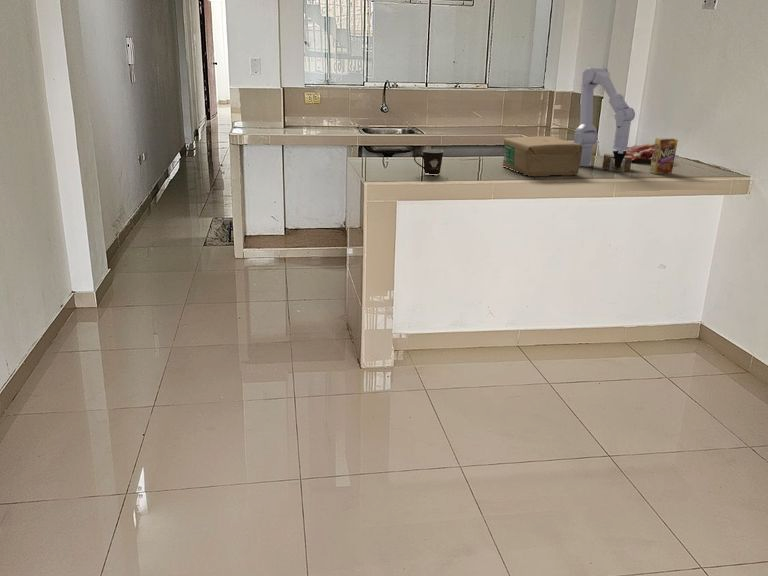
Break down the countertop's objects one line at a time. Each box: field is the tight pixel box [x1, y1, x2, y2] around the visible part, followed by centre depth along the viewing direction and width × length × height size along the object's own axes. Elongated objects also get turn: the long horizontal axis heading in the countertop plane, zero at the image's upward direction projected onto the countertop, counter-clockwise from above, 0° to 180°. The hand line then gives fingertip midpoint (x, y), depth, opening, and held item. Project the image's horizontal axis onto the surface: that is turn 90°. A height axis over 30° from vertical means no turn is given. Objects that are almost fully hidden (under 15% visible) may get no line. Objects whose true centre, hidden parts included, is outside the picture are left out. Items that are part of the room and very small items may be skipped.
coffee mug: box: [413, 149, 444, 174], centre depth 285 cm, size 12×9×10 cm
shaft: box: [612, 160, 623, 172], centre depth 304 cm, size 5×10×5 cm, turn 164°
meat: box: [624, 142, 655, 161], centre depth 329 cm, size 21×21×10 cm
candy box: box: [649, 137, 679, 175], centre depth 298 cm, size 9×4×15 cm, turn 103°
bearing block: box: [601, 153, 633, 172], centre depth 307 cm, size 12×6×6 cm, turn 74°
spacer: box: [608, 158, 625, 173], centre depth 303 cm, size 6×2×5 cm, turn 74°
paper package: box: [502, 135, 582, 177], centre depth 298 cm, size 27×26×14 cm
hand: (617, 167), depth 298 cm, fingers closed
